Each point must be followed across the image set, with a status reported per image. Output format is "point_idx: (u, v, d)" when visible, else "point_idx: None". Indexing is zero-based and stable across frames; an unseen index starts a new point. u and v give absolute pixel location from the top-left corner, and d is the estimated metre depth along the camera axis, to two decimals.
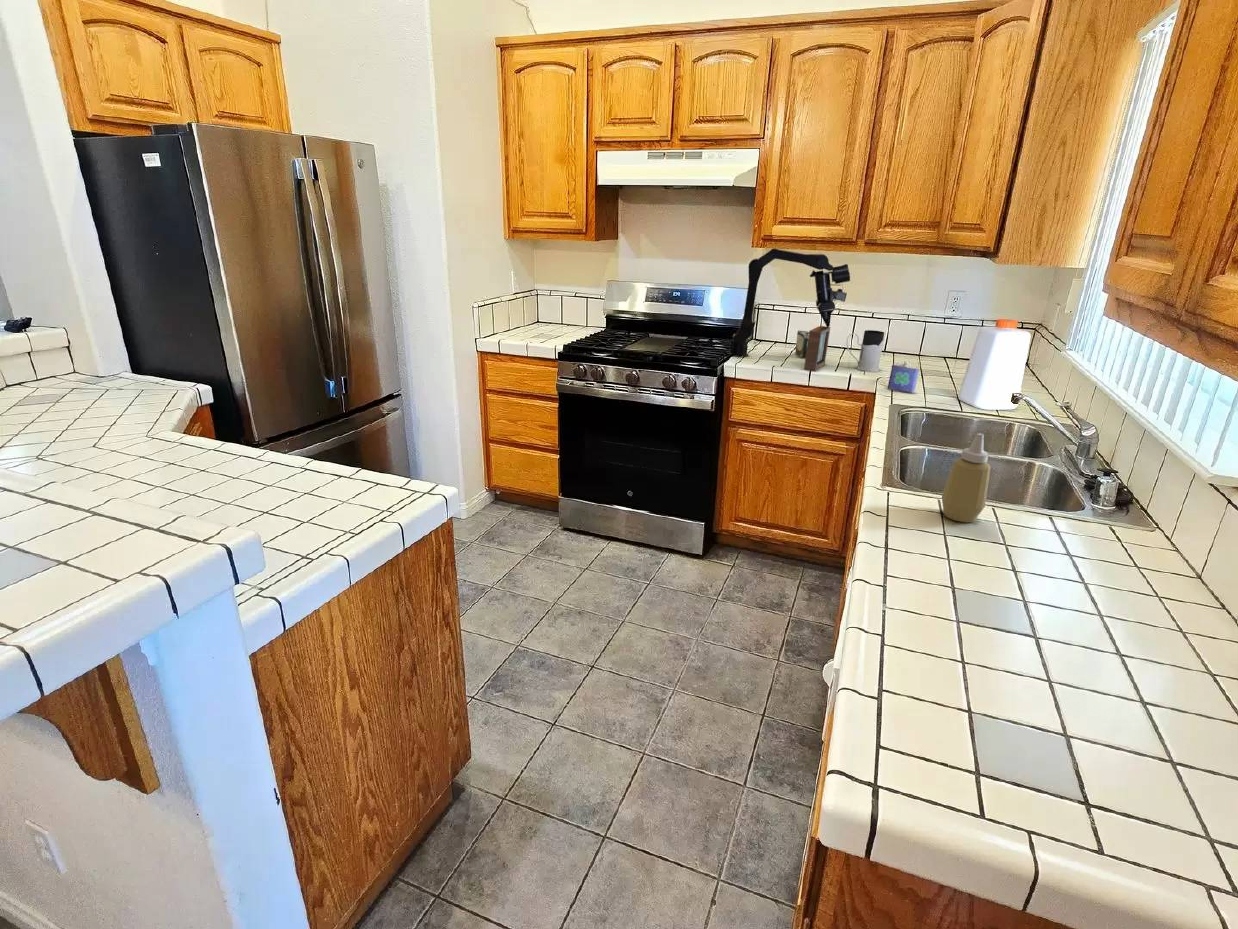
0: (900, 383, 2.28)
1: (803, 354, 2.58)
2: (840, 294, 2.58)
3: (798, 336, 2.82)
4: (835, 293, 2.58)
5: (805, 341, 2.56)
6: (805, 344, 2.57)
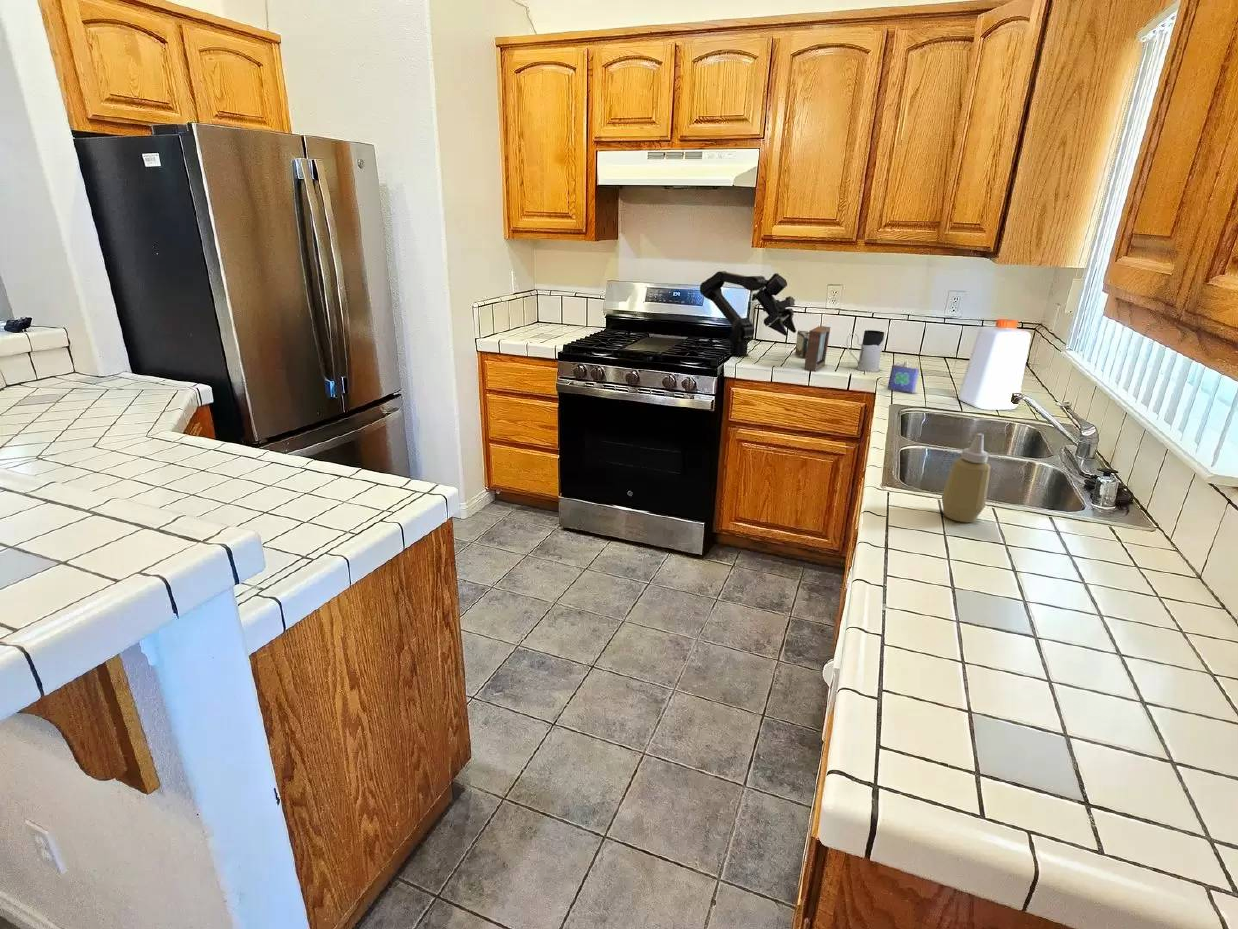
0: (900, 383, 2.28)
1: (803, 354, 2.58)
2: (783, 301, 2.55)
3: (798, 336, 2.82)
4: (779, 303, 2.56)
5: (805, 341, 2.56)
6: (805, 344, 2.57)
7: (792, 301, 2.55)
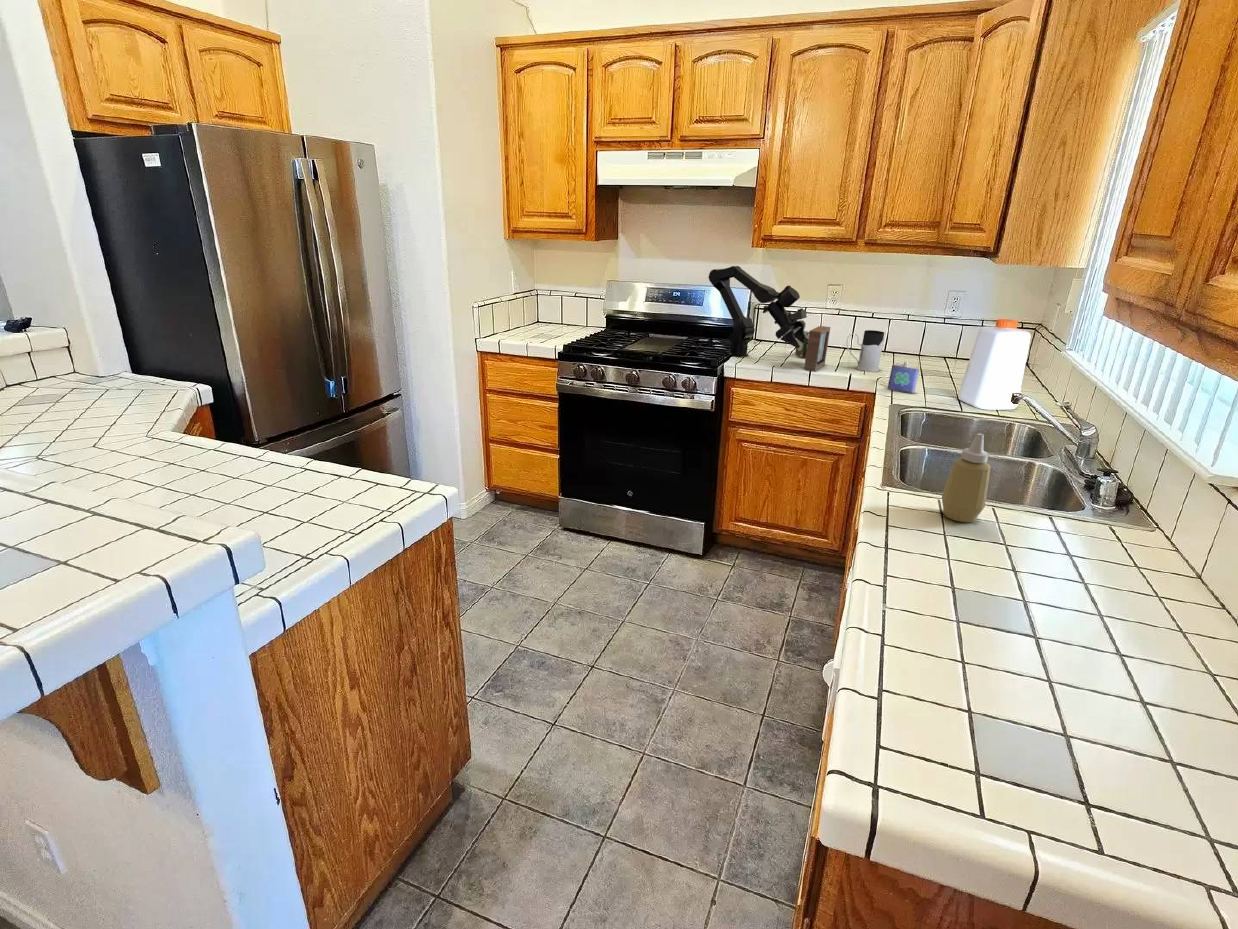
0: (900, 383, 2.28)
1: (803, 354, 2.58)
2: (795, 314, 2.54)
3: None
4: (791, 315, 2.55)
5: (805, 341, 2.56)
6: (805, 344, 2.57)
7: (804, 313, 2.54)
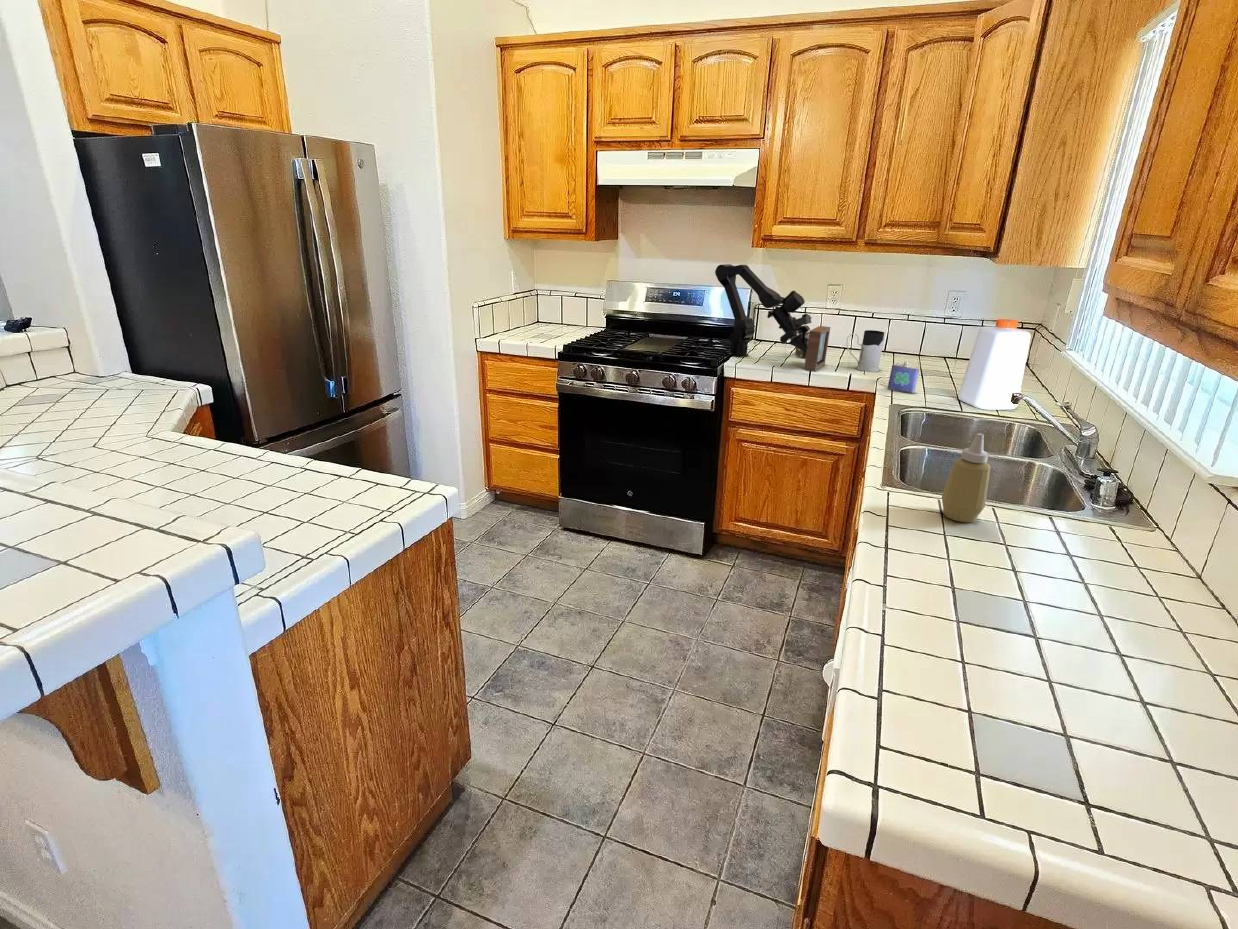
0: (900, 383, 2.28)
1: (803, 354, 2.58)
2: (800, 319, 2.53)
3: None
4: (795, 320, 2.54)
5: (805, 341, 2.56)
6: (805, 344, 2.57)
7: (809, 319, 2.54)
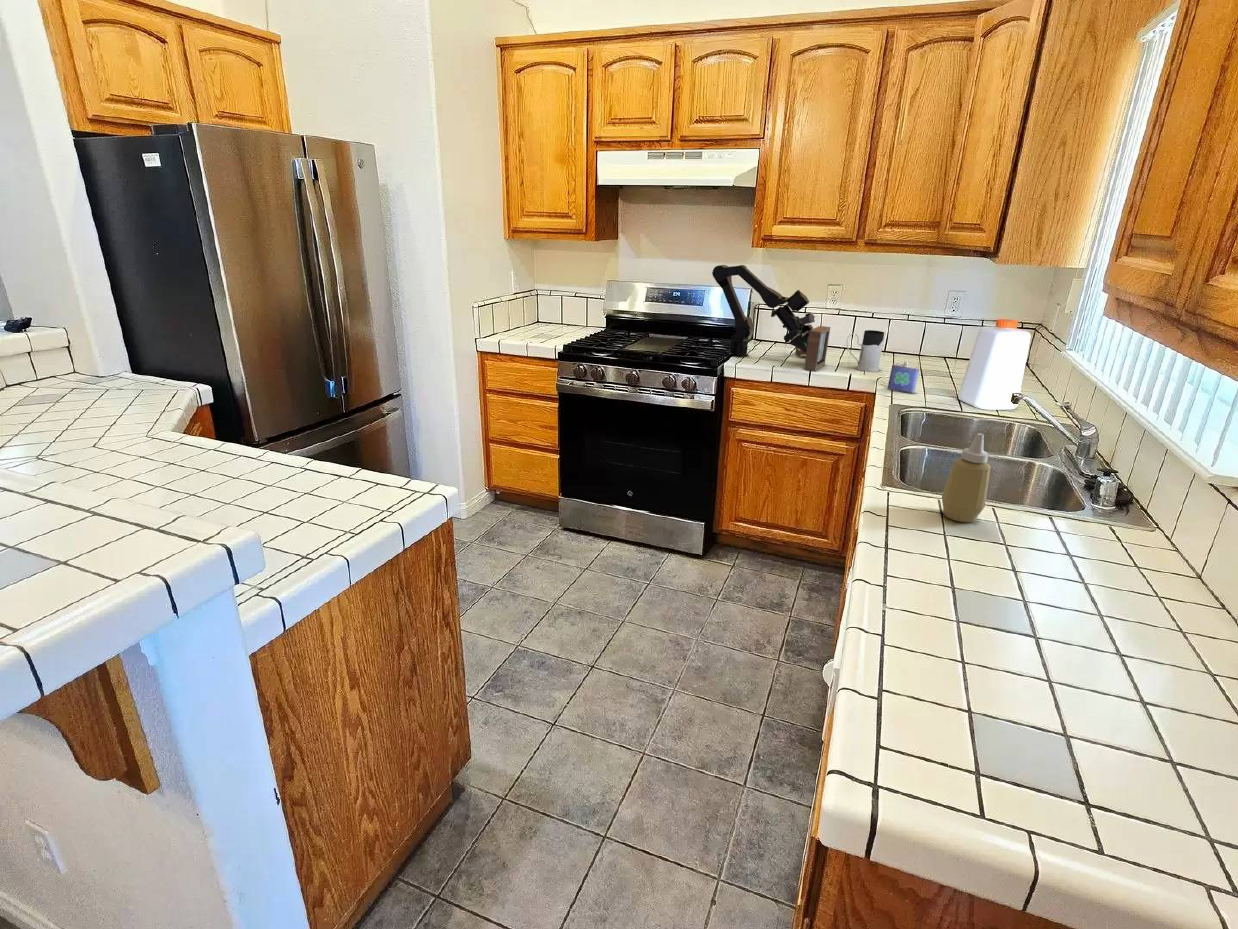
0: (900, 383, 2.28)
1: (806, 352, 2.62)
2: (804, 318, 2.57)
3: None
4: (799, 319, 2.58)
5: None
6: None
7: (812, 318, 2.58)
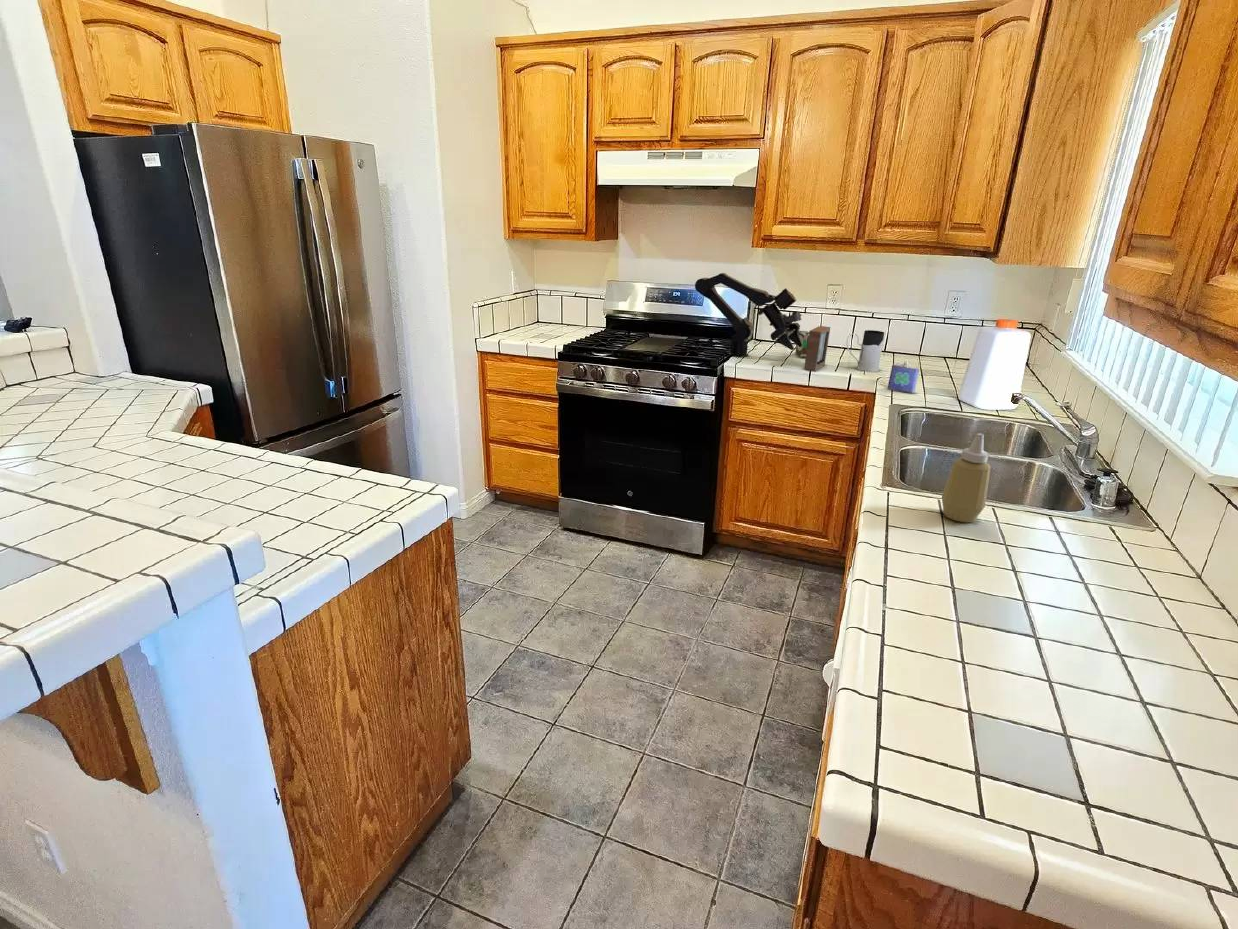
0: (900, 383, 2.28)
1: (806, 352, 2.62)
2: (790, 316, 2.60)
3: None
4: (786, 318, 2.61)
5: None
6: None
7: (799, 316, 2.60)
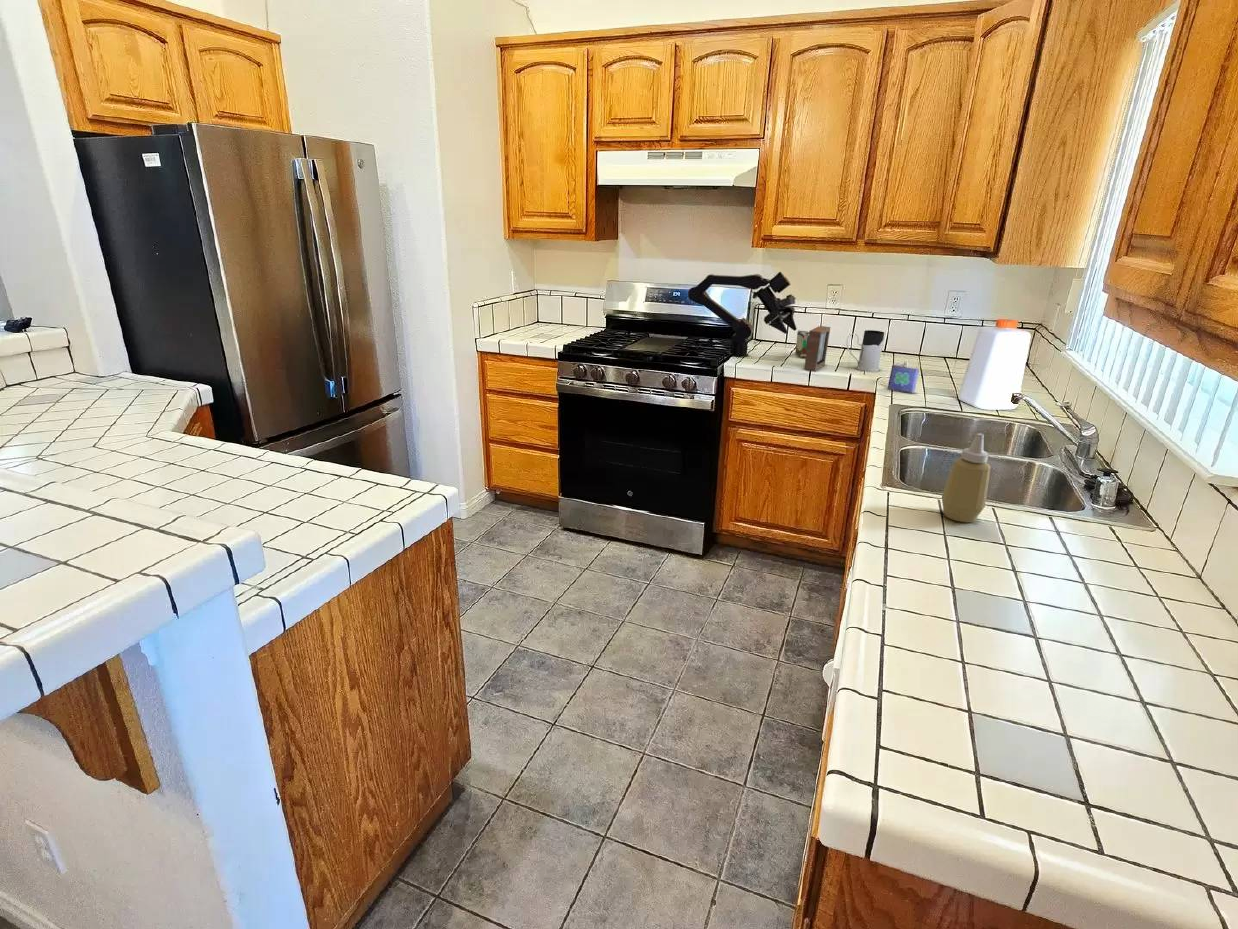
0: (900, 383, 2.28)
1: (806, 352, 2.62)
2: (784, 300, 2.59)
3: (798, 336, 2.82)
4: (779, 301, 2.61)
5: None
6: None
7: (792, 299, 2.60)
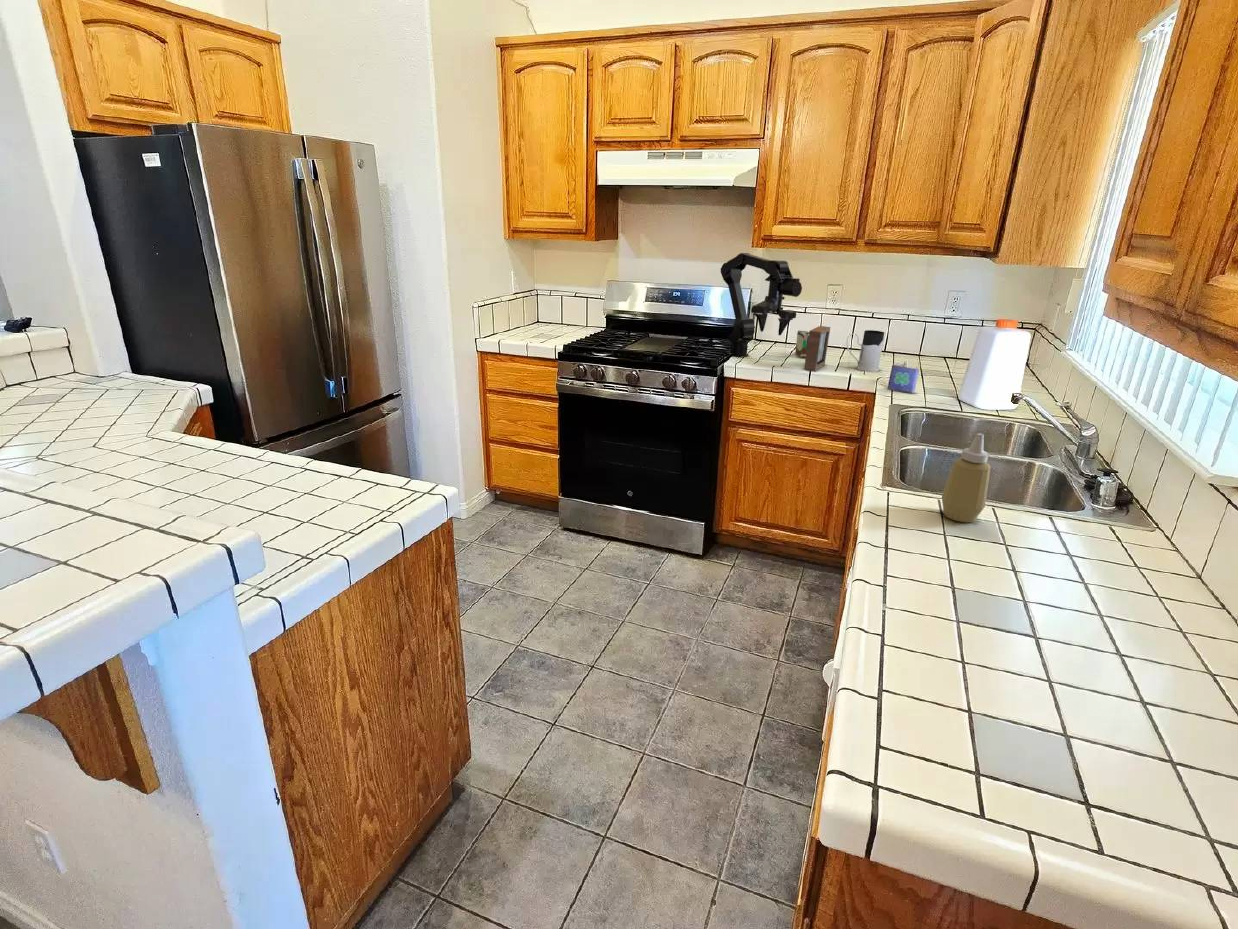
0: (900, 383, 2.28)
1: (806, 352, 2.62)
2: None
3: (798, 336, 2.82)
4: None
5: None
6: None
7: (760, 310, 2.53)
